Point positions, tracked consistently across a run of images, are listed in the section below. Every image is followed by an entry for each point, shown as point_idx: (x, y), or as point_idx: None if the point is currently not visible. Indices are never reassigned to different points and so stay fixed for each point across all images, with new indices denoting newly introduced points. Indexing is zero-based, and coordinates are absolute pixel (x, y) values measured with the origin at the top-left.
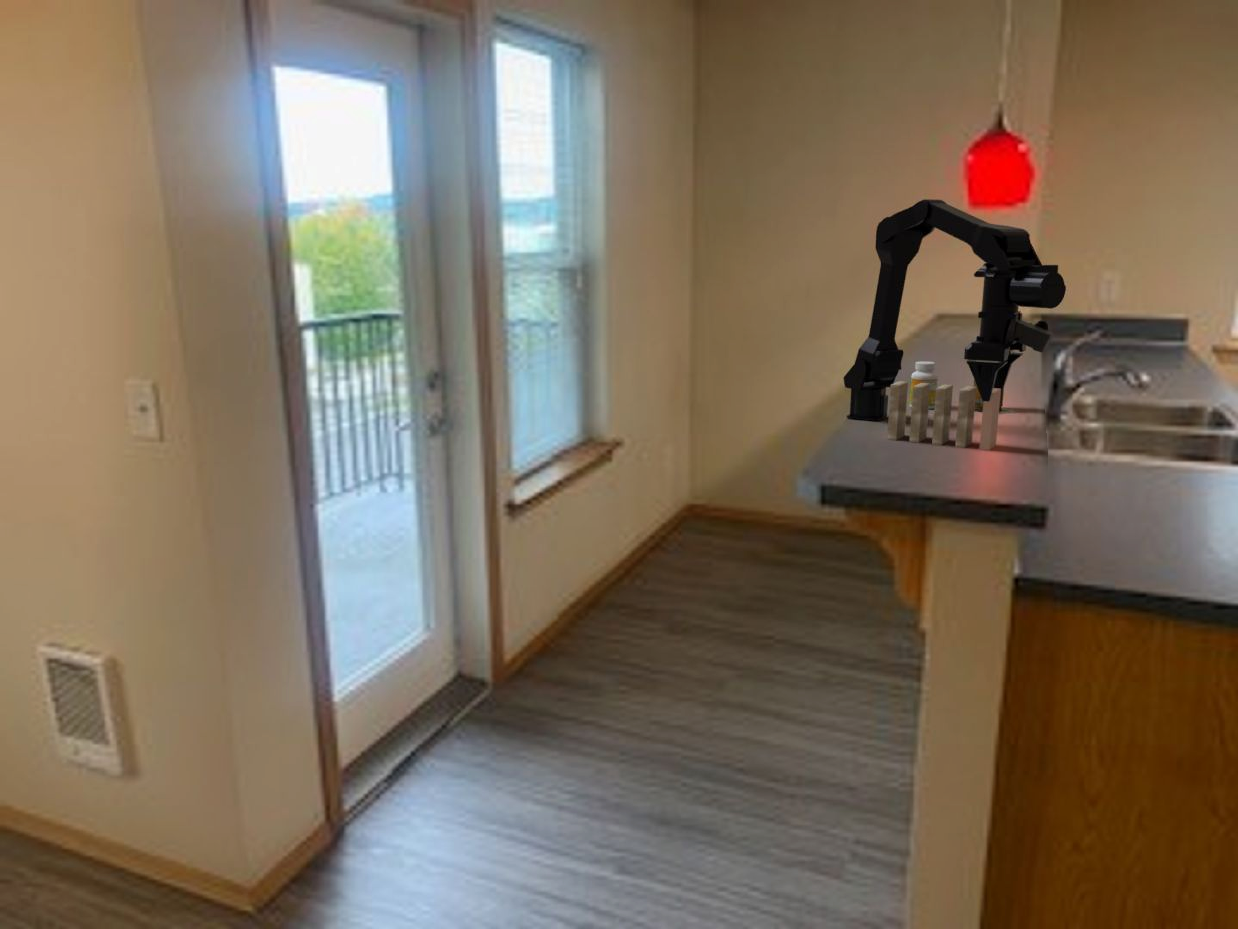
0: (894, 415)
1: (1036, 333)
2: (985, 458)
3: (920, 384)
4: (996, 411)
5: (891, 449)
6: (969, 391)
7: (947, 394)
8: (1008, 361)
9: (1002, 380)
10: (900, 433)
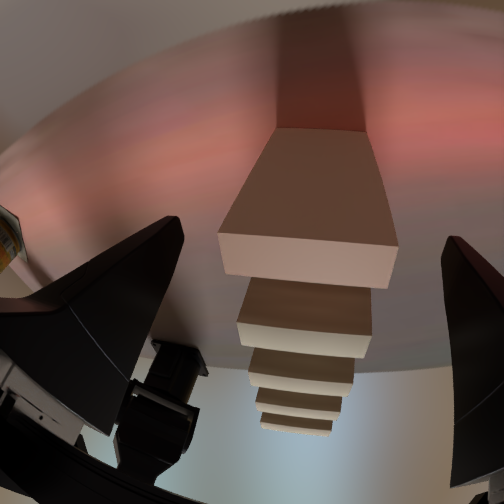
0: None
1: None
2: (471, 133)
3: (290, 413)
4: (301, 176)
5: (431, 312)
6: (366, 332)
7: (320, 359)
8: (58, 334)
9: (142, 260)
10: None
